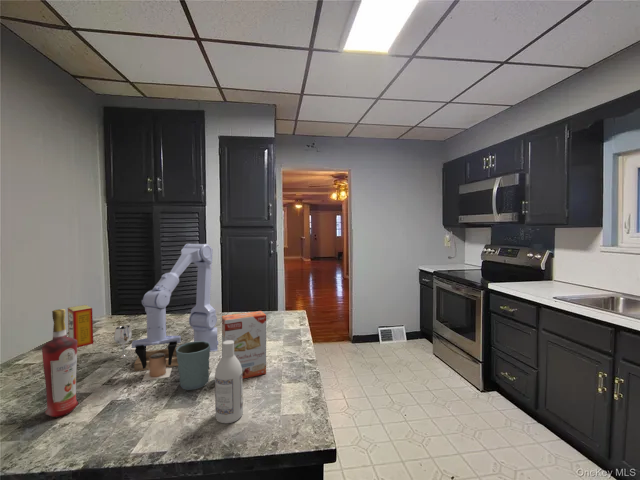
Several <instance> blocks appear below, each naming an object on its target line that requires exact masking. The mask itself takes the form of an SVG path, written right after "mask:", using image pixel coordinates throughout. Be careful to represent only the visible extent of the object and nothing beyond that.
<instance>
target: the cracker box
mask: <svg viewBox="0 0 640 480" xmlns="http://www.w3.org/2000/svg"><path fill="white" fill-rule="evenodd" d="M227 340H232V341H234V355H235V356H236V358H237V359H238V360H239V362H240V364H241V367H242V380H244V379H248V378H252V377H257V376H261V375H262V376H263V375H266V374H267V314H265V313H264V312H263V311H262V310H258V311H251V312H250V311H249V312H242V313H241V312H240V313H235V314H234V313H233V314H226V315H222V316H221V358H222V357H223V342H224V341H227Z"/></svg>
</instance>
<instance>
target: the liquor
mask: <svg viewBox="0 0 640 480" xmlns="http://www.w3.org/2000/svg"><path fill="white" fill-rule="evenodd" d="M51 312H52V321H53V327H52V339H51V340H48V341H47V342H46V343H45V344H43V345H42V346H41V352H42V353H41V355H42V365H43V373H44V374H43V376H44V381H45V382H44V383H45V392H46V410H45V411H44V413H45V415H47V416H49V417H52V418H60V417H64V416H66V415H68V414H70V413H71V412H72V411H73V410H74V409H75V408H76V407H78V405H79V402H78V400H77V365H78V359H77V358H78V347H77V340H76V339H74V338H71V337H69V336H68V334H67V330H66V329H67V328H66V322H65V319H66V309H65V308H60V309H55V310H52V311H51Z"/></svg>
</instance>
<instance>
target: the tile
mask: <svg viewBox="0 0 640 480" xmlns="http://www.w3.org/2000/svg"><path fill="white" fill-rule="evenodd" d="M172 370H173V367H166V373H165V374H164V375H162V376H159V377H150V376H149V370H145V373H144V375H143V378H142V380H141V382H145V381H146V382H147V381H153V380H158V379H159V380H160V379H167V378H170V376H171V373H172Z"/></svg>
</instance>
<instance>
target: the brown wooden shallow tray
mask: <svg viewBox="0 0 640 480" xmlns="http://www.w3.org/2000/svg"><path fill="white" fill-rule="evenodd" d="M176 349H177V347H176V348H175V350H174V352H173V356H172V362H171V365H168V359H169V353H168V348H163V349H155V350H154V349H153V350H146V362H147V365H146V368H144V369H143V366H142V363H141V361H140V359H139V357H138V356H137V358H136V360H135V362H134V363H133V365H134V367H133V368H134V370H133V371H134V373H135V372H140V371H142V372H143V371H149V357H150V356H151V355H153V354H157V353H164V354H166V368H173V367H178V366H179V365H178V362H177V355H176Z"/></svg>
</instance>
